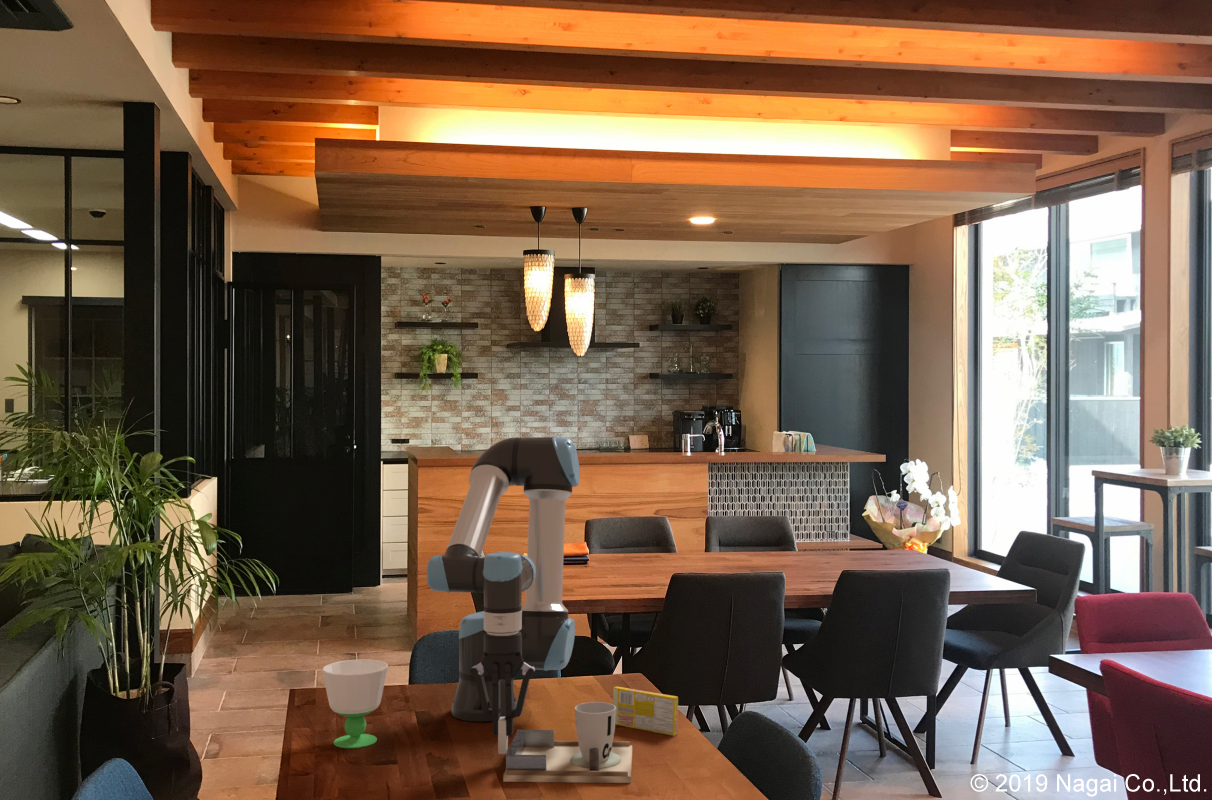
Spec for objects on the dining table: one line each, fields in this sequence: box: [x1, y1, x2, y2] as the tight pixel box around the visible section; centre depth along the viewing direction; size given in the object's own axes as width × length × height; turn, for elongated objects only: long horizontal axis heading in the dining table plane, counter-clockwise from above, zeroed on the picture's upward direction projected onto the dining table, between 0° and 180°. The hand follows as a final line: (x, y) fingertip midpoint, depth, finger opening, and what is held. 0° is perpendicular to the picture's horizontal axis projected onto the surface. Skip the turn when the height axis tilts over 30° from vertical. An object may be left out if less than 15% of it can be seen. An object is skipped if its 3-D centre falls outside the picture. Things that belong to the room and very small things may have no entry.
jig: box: [502, 740, 633, 784], centre depth 198 cm, size 24×18×5 cm
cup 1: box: [321, 658, 389, 749], centre depth 214 cm, size 14×14×16 cm
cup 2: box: [574, 701, 616, 763], centre depth 198 cm, size 8×8×10 cm
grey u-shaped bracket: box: [505, 729, 555, 770], centre depth 198 cm, size 8×16×3 cm, turn 178°
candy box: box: [612, 686, 679, 737], centre depth 222 cm, size 16×2×8 cm, turn 55°
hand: (503, 751), depth 199 cm, fingers closed
